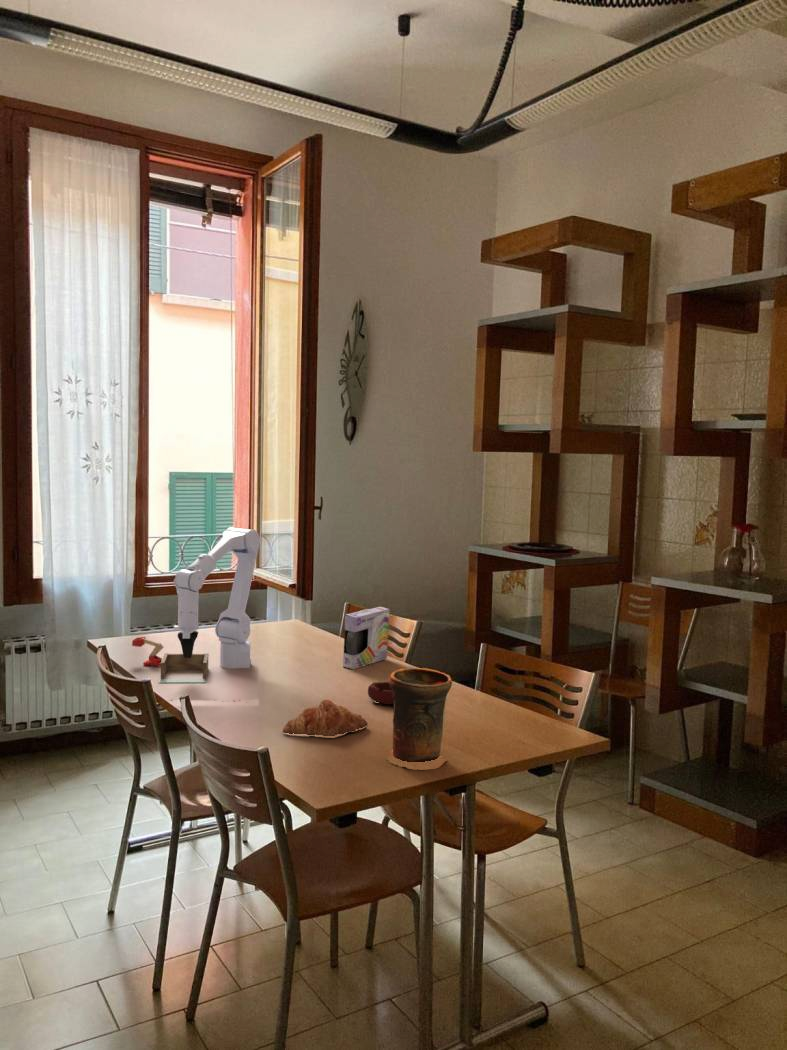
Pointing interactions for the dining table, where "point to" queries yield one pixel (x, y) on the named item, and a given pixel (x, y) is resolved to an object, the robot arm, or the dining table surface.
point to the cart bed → (184, 663)
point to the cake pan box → (365, 637)
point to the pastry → (325, 721)
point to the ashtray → (381, 692)
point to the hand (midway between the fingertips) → (187, 657)
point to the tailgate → (182, 681)
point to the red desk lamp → (153, 658)
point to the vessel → (418, 713)
